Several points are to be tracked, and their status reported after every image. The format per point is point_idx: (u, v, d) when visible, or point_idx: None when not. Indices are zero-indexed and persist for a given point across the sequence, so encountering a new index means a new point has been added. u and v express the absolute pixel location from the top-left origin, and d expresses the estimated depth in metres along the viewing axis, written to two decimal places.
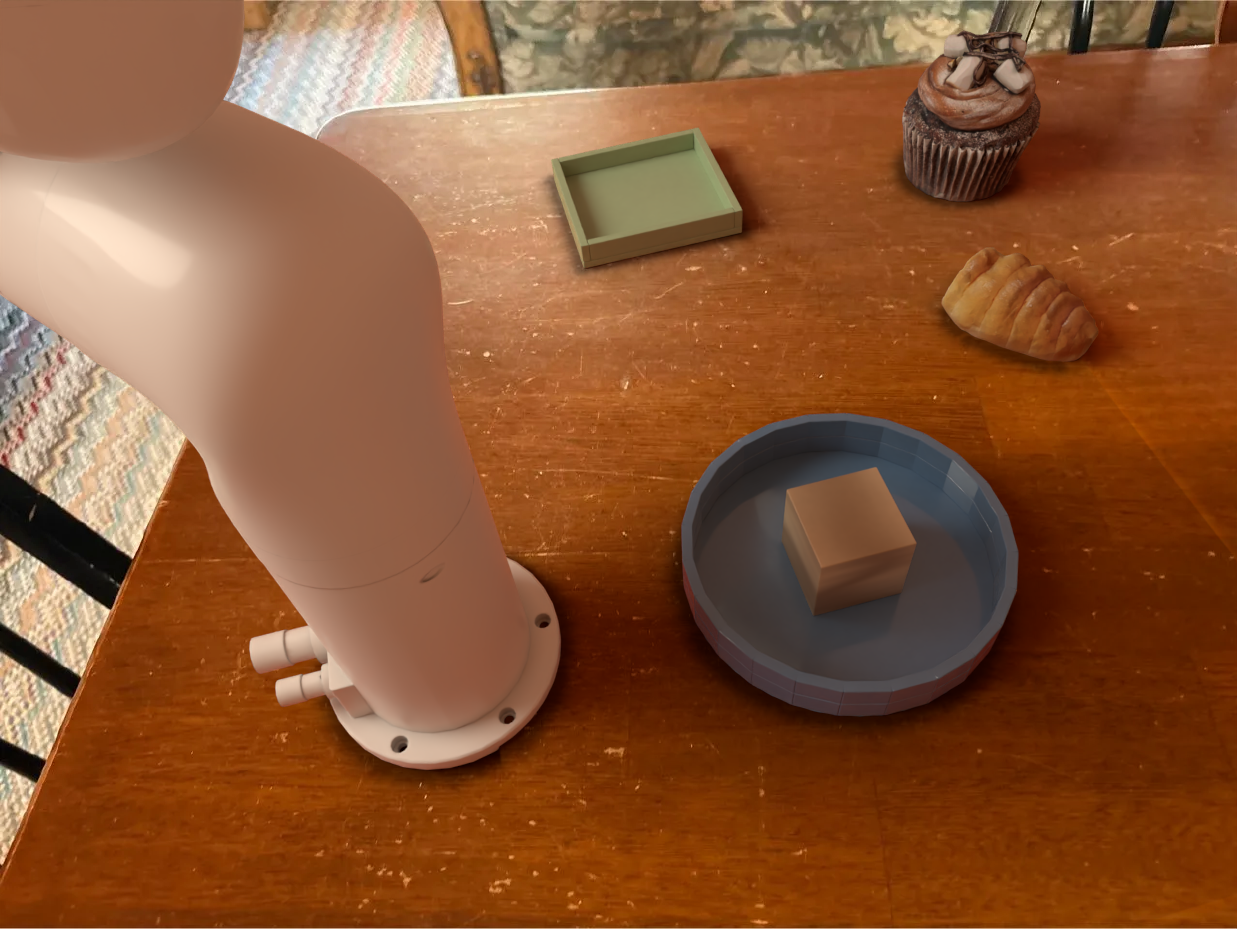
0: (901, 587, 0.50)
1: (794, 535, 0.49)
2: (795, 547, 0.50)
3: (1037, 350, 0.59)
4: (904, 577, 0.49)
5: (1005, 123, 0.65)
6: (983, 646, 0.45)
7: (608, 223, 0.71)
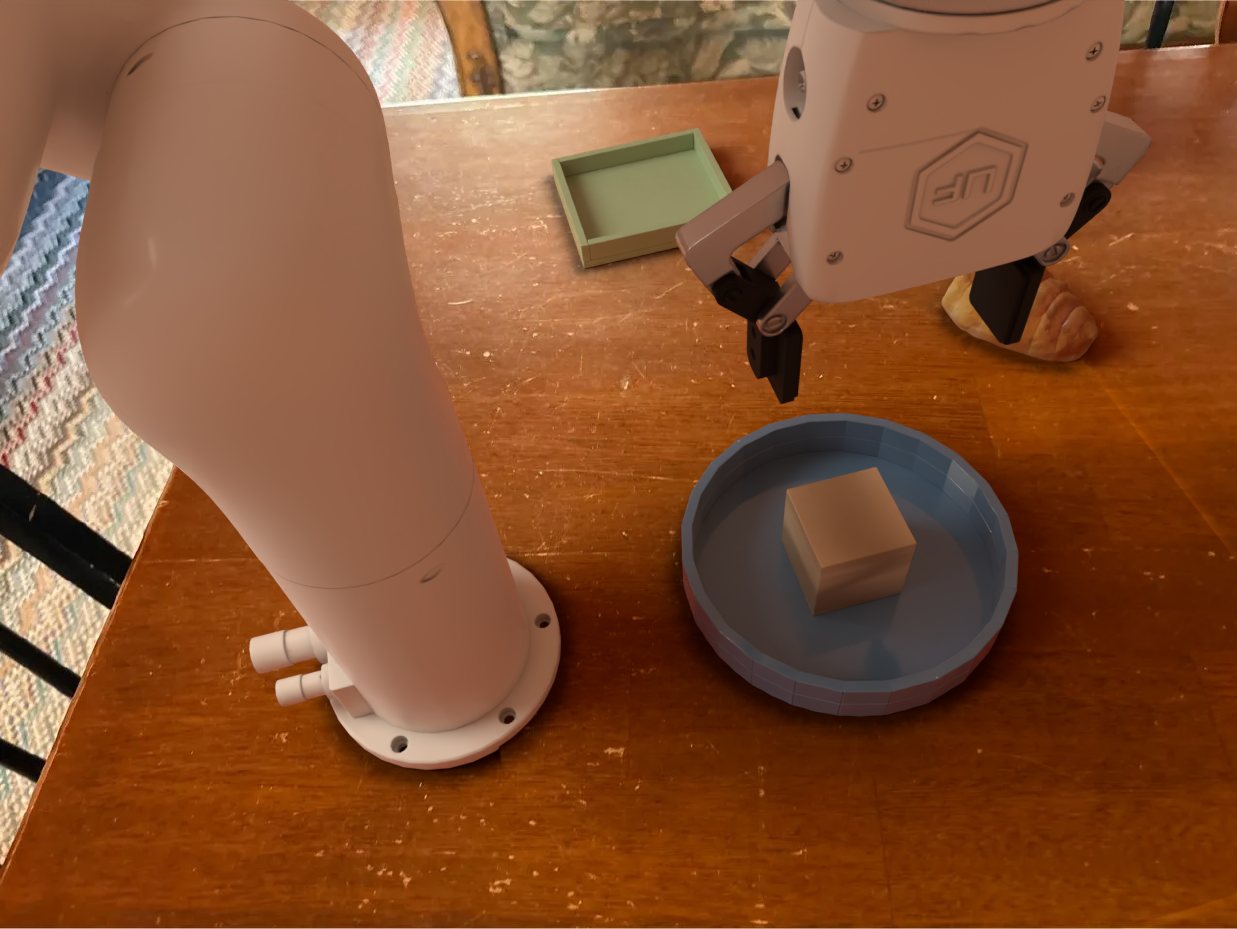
0: (901, 587, 0.50)
1: (794, 535, 0.49)
2: (795, 547, 0.50)
3: (1037, 350, 0.59)
4: (904, 577, 0.49)
5: None
6: (983, 646, 0.45)
7: (608, 223, 0.71)
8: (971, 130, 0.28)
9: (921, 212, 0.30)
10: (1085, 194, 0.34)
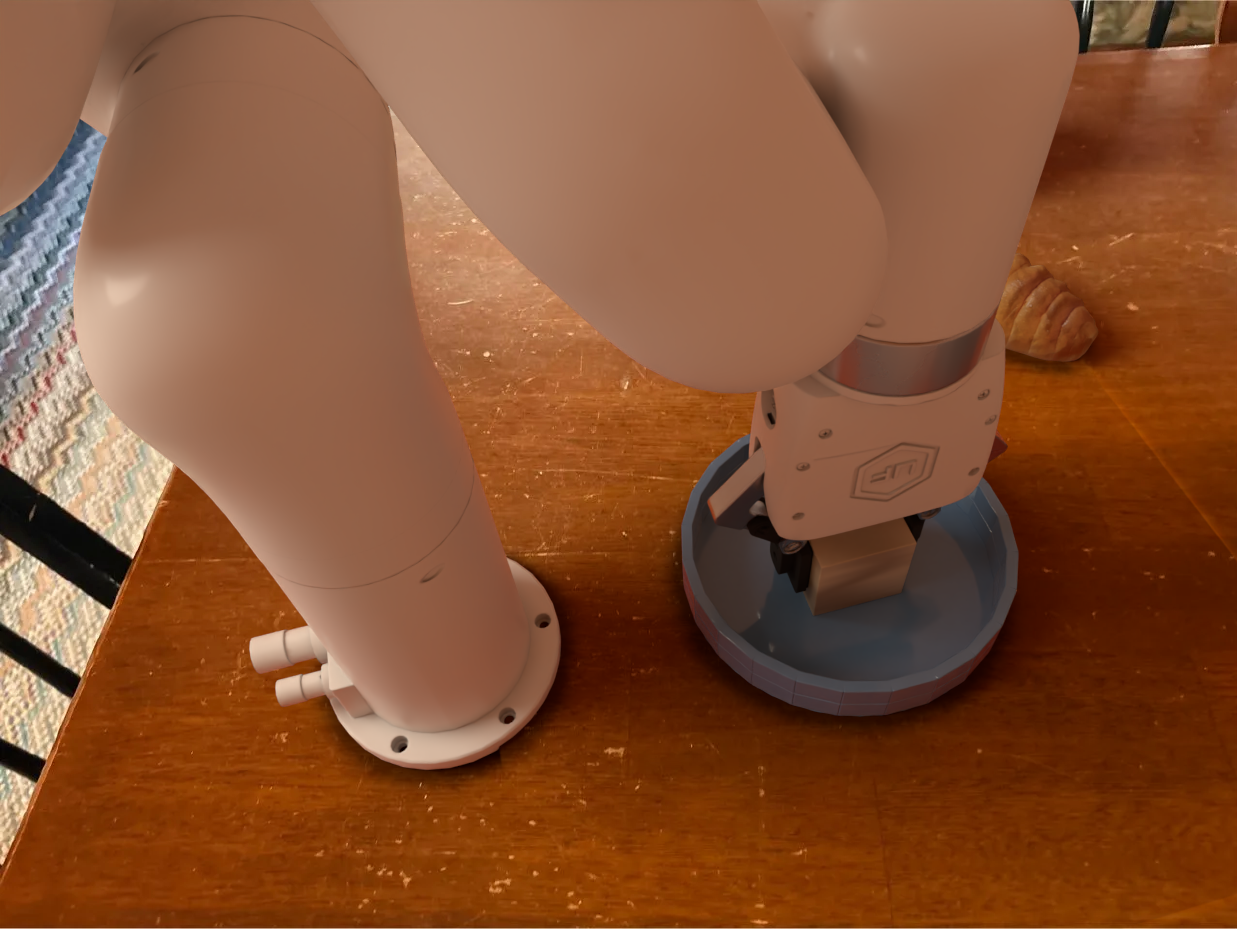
0: (901, 587, 0.50)
1: None
2: None
3: (1037, 350, 0.59)
4: (904, 576, 0.49)
5: None
6: (983, 646, 0.45)
7: None
8: (896, 443, 0.39)
9: (862, 488, 0.41)
10: None
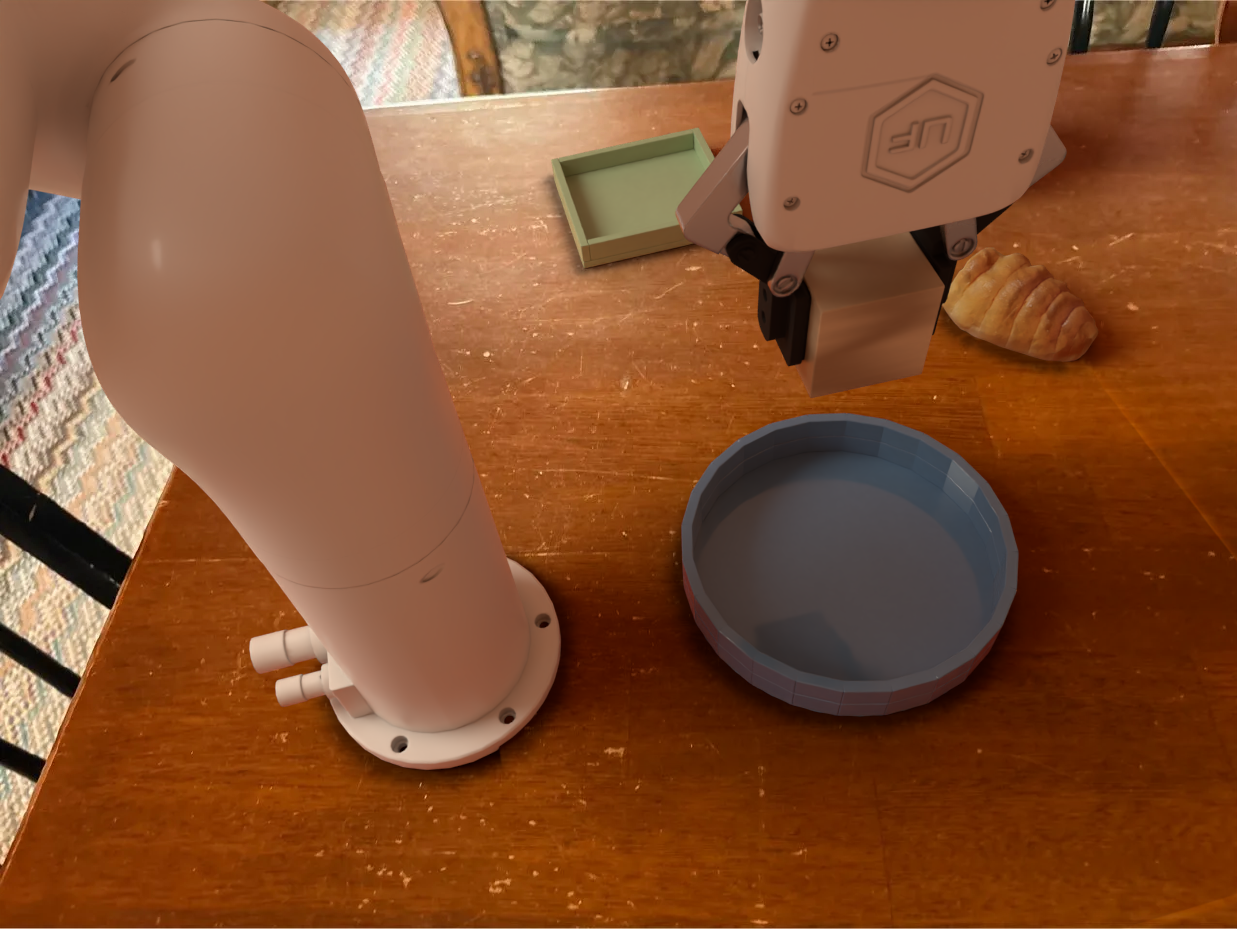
0: (922, 364, 0.39)
1: None
2: None
3: (1037, 350, 0.59)
4: (926, 345, 0.39)
5: None
6: (983, 646, 0.45)
7: (608, 223, 0.71)
8: (925, 76, 0.28)
9: (877, 160, 0.30)
10: None
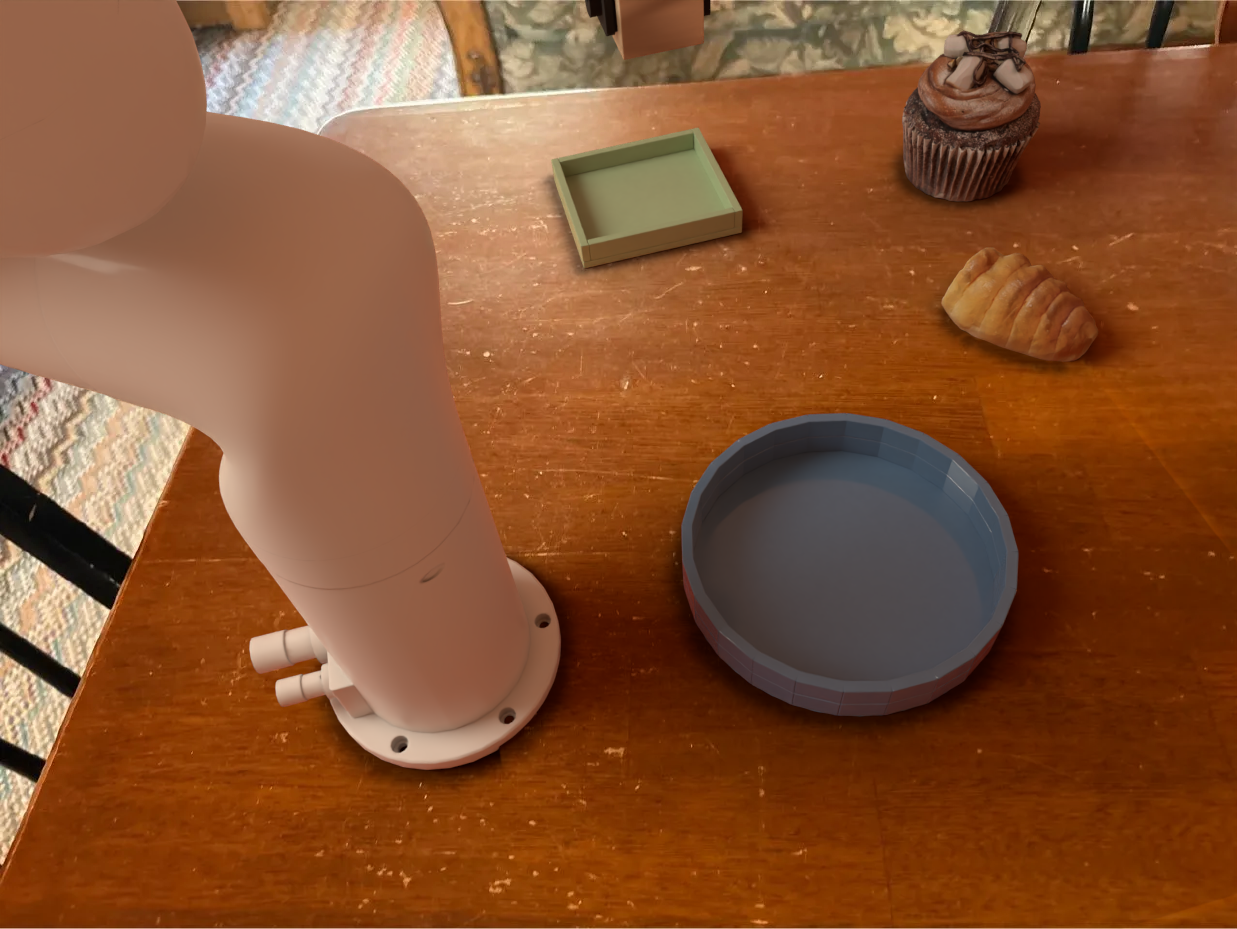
0: (702, 33, 0.55)
1: None
2: None
3: (1037, 350, 0.59)
4: (701, 14, 0.55)
5: (1005, 123, 0.65)
6: (983, 646, 0.45)
7: (608, 223, 0.71)
8: None
9: None
10: None
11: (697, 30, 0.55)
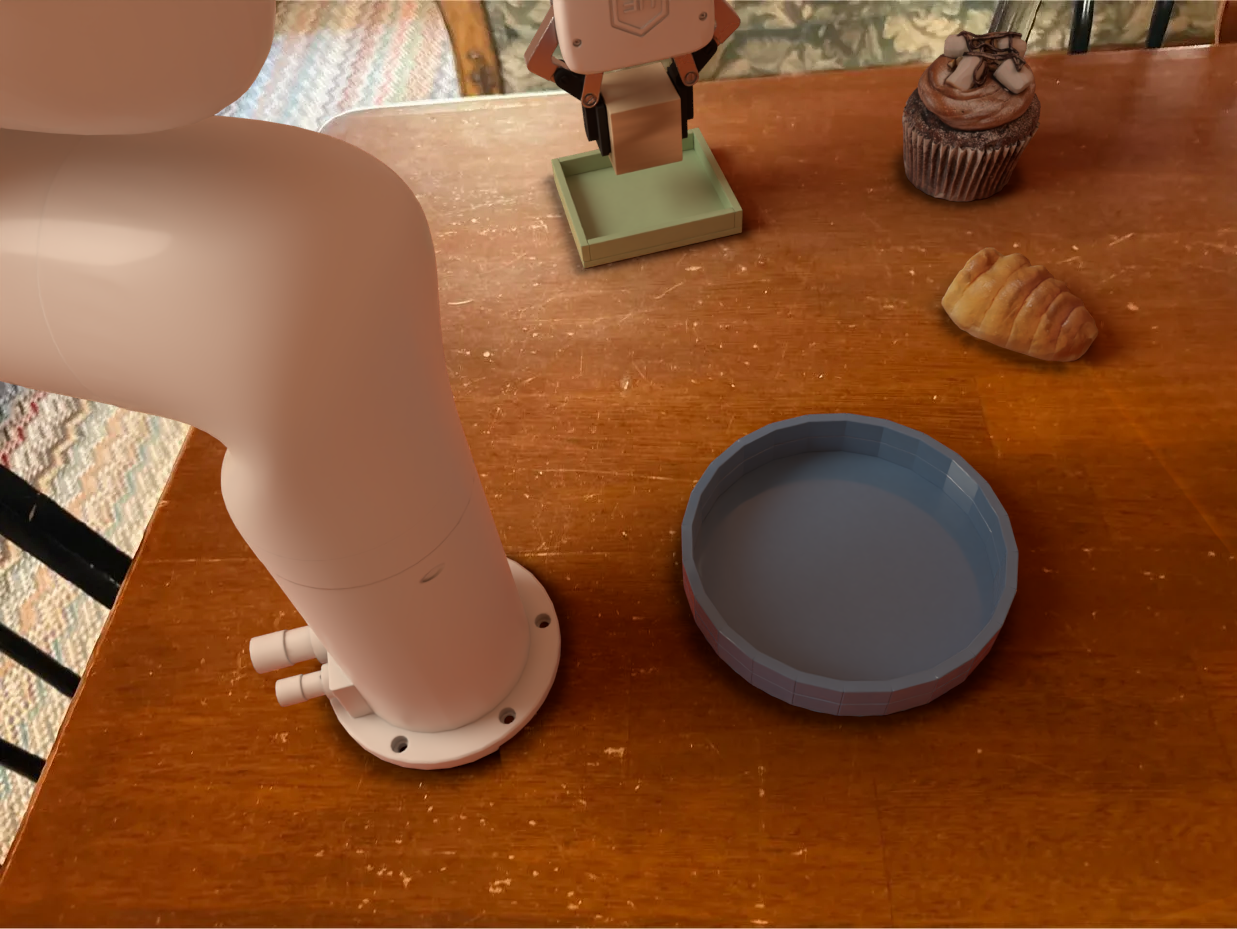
0: (681, 153, 0.67)
1: None
2: None
3: (1037, 350, 0.59)
4: (680, 139, 0.66)
5: (1005, 123, 0.65)
6: (983, 646, 0.45)
7: (608, 223, 0.71)
8: None
9: (619, 17, 0.58)
10: None
11: (677, 151, 0.67)
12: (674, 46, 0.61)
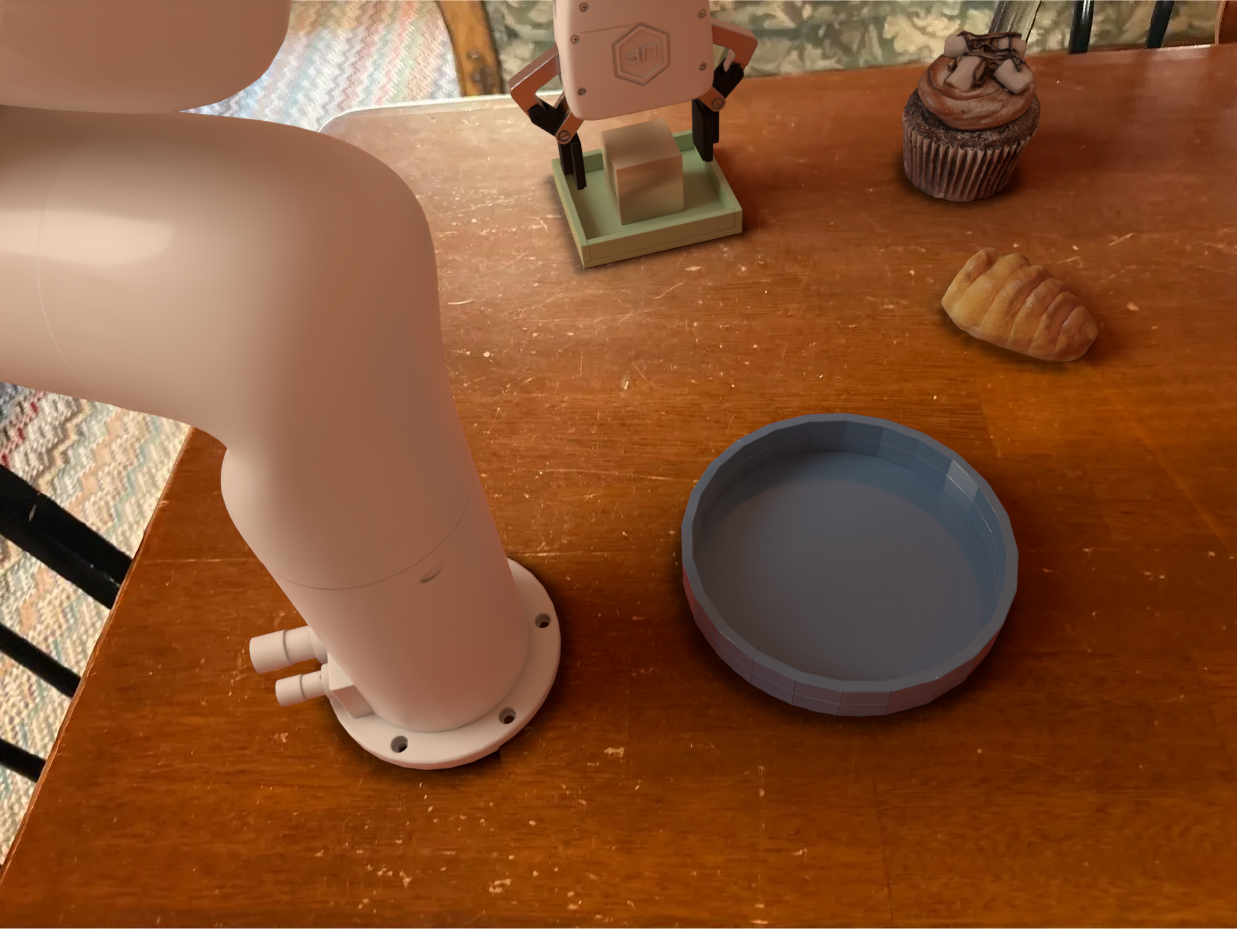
0: (682, 204, 0.71)
1: (607, 166, 0.71)
2: (608, 177, 0.71)
3: (1037, 350, 0.59)
4: (681, 192, 0.70)
5: (1005, 123, 0.65)
6: (983, 646, 0.45)
7: (608, 223, 0.71)
8: (636, 23, 0.59)
9: (622, 67, 0.61)
10: (729, 70, 0.65)
11: (678, 202, 0.71)
12: (675, 94, 0.63)
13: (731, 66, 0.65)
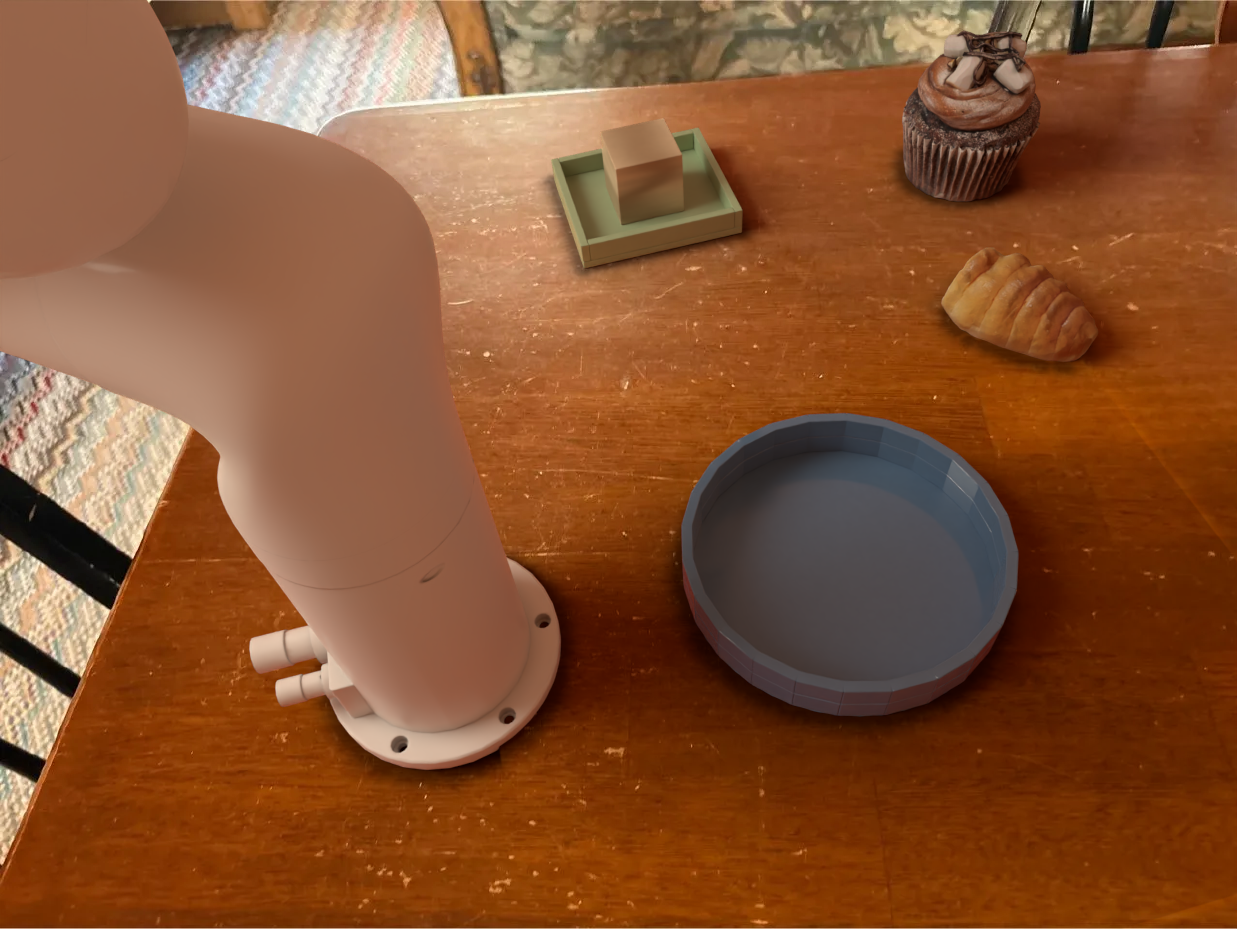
0: (682, 204, 0.71)
1: (607, 166, 0.71)
2: (608, 177, 0.71)
3: (1037, 350, 0.59)
4: (681, 192, 0.70)
5: (1005, 123, 0.65)
6: (983, 646, 0.45)
7: (608, 223, 0.71)
8: None
9: None
10: None
11: (678, 202, 0.71)
12: None
13: None
